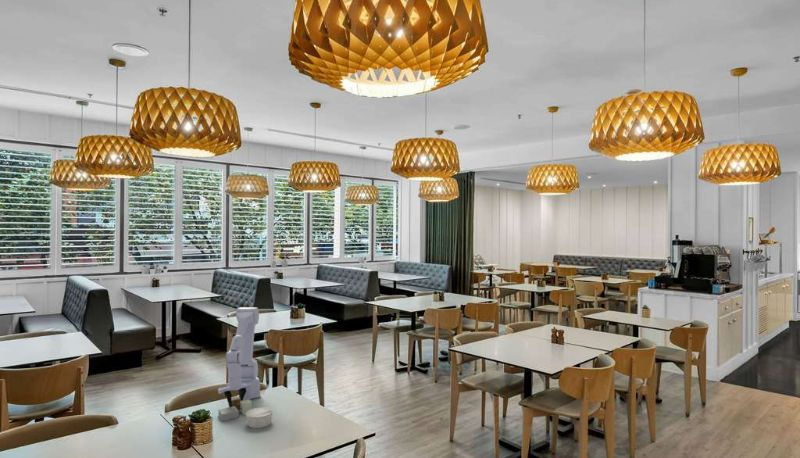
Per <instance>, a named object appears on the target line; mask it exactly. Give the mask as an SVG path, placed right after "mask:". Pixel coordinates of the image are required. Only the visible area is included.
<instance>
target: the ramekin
mask: <svg viewBox="0 0 800 458" xmlns="http://www.w3.org/2000/svg"><path fill="white" fill-rule="evenodd" d="M273 412H274V411H273V409H272V408H271V407H267V406H265V407H264V406H262V407H261V406H260V407H259V406H258V407H255V408H252V409H251V410H249V411H247V412H246V414H245V418H246V422H247V426H248V427H249V428H251V429H262V428H265V427H268V426H269V425H270V424H271V423H272V420H273V419H272V418H273V417H272V416H273Z"/></svg>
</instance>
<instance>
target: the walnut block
mask: <svg viewBox="0 0 800 458" xmlns="http://www.w3.org/2000/svg"><path fill="white" fill-rule="evenodd" d="M240 401H241V398H240V397H239V396H238V395H236V396H234V397H231V403H232V407H233V406H235V407H236V408H237V410H238V411H241V408H240Z"/></svg>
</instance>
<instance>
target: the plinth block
mask: <svg viewBox="0 0 800 458" xmlns="http://www.w3.org/2000/svg"><path fill="white" fill-rule="evenodd" d="M217 412H218V418H219V419H220V421H221V422H225V421H229V420H234V419H238V418H240V417H239V416H240V415H239V412H240V410H237V408H236V407H235V406H233V407H229V406H228V407H225V408H220V409H218V411H217Z"/></svg>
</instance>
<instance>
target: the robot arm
mask: <svg viewBox="0 0 800 458" xmlns="http://www.w3.org/2000/svg"><path fill="white" fill-rule="evenodd" d="M235 316H236V320H237V327H236V333H235V335H234V336H233V337H232V339H231V343H230V347H229V350H228V351H227V352H226V353H225V363H226V367H227V379H228V381H227V383H228V385H227V386H224V387H219V388H218V390H217V392H218V394H219V395H222V394H224V395H225V397H226V399H227V403H228V407H232V403H231V398H232V396H233V395H232V392H233V391H234V392H235V391H238V395H237V396H239V397H240V398H241V401H243V400H248V399H249V400H252V399H257V398H258V399H259V398H261V396H262V395H261V380H260V378H259V377H258V376H259V364H258V362H257V361H256V360H255V359H254V358H253V357H254V341H255V340H254V339H255V331H256V330H255V329H256V328H255V327H256V325H258V324H259V322H260V321H259V320H260V311H259V308H258V307H256V306H255V307H254V306H253V307H250V306H249V307H247V306H246V307H237V308H236V311H235Z"/></svg>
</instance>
